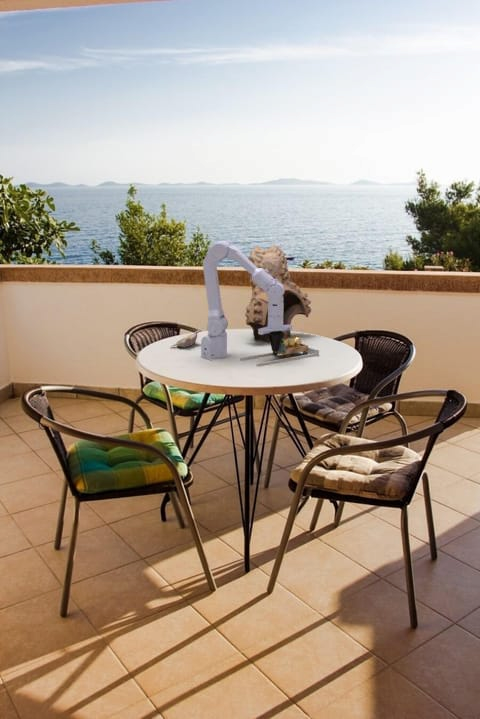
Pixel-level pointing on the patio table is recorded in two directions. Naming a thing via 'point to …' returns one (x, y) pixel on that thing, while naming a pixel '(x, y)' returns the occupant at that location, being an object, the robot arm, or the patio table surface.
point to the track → (310, 351)
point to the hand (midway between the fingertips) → (274, 351)
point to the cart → (291, 350)
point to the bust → (259, 300)
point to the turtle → (187, 340)
